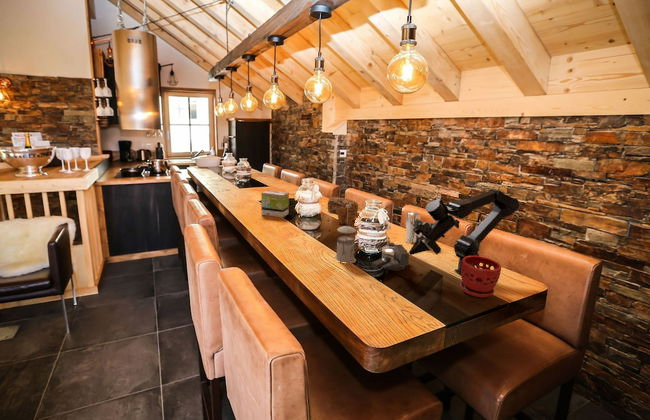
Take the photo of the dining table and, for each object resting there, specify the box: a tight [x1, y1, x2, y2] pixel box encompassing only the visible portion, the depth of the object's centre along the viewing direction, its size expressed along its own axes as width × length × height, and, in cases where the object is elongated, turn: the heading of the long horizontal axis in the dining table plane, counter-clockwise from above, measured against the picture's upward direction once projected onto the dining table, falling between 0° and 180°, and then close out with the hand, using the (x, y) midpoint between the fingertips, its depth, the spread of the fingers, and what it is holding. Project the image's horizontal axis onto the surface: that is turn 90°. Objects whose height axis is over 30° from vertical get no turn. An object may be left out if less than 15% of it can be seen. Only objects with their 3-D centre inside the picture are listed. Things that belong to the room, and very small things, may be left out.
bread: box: [327, 196, 359, 214], centre depth 240 cm, size 19×11×10 cm, turn 55°
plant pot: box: [459, 255, 502, 298], centre depth 129 cm, size 13×13×12 cm
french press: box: [334, 205, 357, 264], centre depth 154 cm, size 10×12×25 cm
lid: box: [381, 242, 410, 267], centre depth 147 cm, size 23×10×5 cm, turn 3°
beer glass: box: [404, 211, 421, 244], centre depth 184 cm, size 7×7×15 cm
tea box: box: [260, 189, 290, 218], centre depth 227 cm, size 15×10×15 cm
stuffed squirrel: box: [336, 202, 360, 227], centre depth 213 cm, size 10×14×13 cm
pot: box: [370, 251, 406, 272], centre depth 149 cm, size 23×10×6 cm, turn 139°
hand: (409, 253), depth 140 cm, fingers closed
